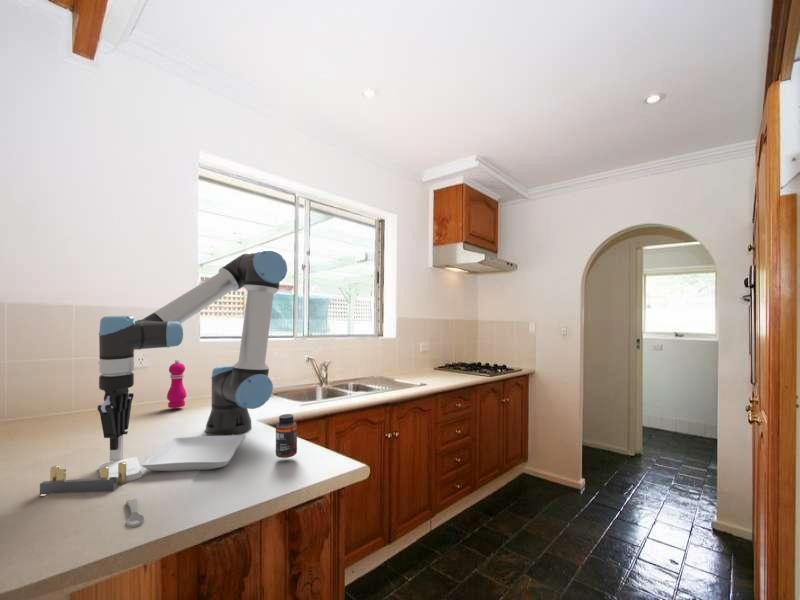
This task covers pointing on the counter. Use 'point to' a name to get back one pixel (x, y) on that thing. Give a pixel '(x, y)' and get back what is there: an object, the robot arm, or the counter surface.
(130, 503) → the spoon
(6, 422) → the counter surface
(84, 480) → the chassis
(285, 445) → the supplement bottle
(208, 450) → the salad plate
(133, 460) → the external hard drive
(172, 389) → the pepper mill
